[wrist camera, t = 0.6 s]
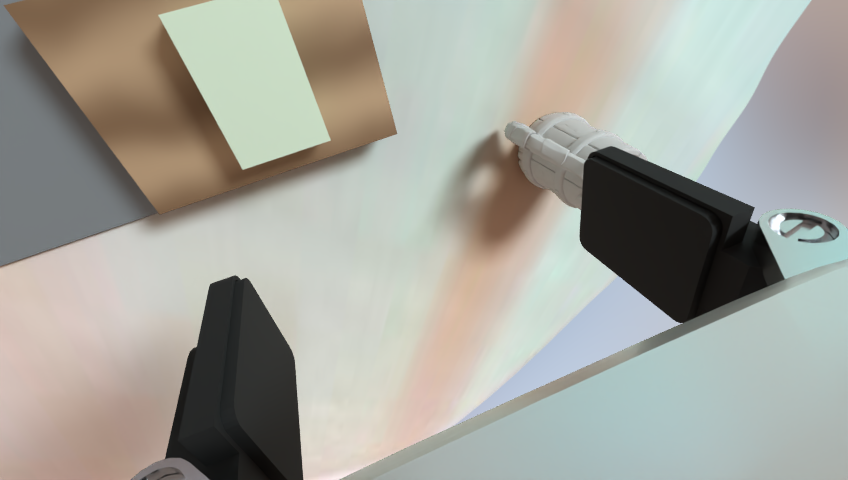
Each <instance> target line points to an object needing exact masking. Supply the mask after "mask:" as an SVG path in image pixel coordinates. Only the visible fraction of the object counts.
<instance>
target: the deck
mask: <svg viewBox="0 0 848 480" xmlns="http://www.w3.org/2000/svg"><path fill="white" fill-rule="evenodd" d="M209 1H213V0H23V1H19V2H15V3H11V4H7V5H3V6H4V7H5V8H6V10H7V11H8V12H9V14H10V15H11V16H12V18H13V19H14V20H15V22H16V23H17V24H18V26H19V27H20V28H21V30H22V31H23V32H24V34H25V35H26V36H27V38H28V39H29V40H30V42H31V43H32V44H33V46H34V47H35V48H36V50H37V51H38V52H39V54H40V55H41V56H42V58H43V59H44V60H45V62H46V63H47V64H48V66H49V67H50V68H51V70H52V71H53V72H54V74H55V75H56V76H57V78H58V79H59V80H60V82H61V83H62V84H63V86H64V87H65V88H66V90H67V91H68V93H69V94H70V95H71V97H72V98H73V99H74V101H75V102H76V103H77V105H78V106H79V107H80V109H81V110H82V111H83V113H84V114H85V115H86V117H87V118H88V119H89V121H90V122H91V123H92V125H93V126H94V127H95V129H96V130H97V131H98V133H99V134H100V135H101V137H102V138H103V139H104V141H105V142H106V143H107V145H108V146H109V147H110V149H111V150H112V151H113V153H114V154H115V155H116V157H117V158H118V159H119V161H120V162H121V163H122V165H123V166H124V167H125V169H126V170H127V171H128V173H129V174H130V175H131V177H132V178H133V179H134V181H135V182H136V183H137V185H138V186H139V187H140V189H141V190H142V192H143V193H144V194H145V196H146V197H147V198H148V200H149V201H150V202H151V204H152V205H153V206H154V208H155V209H156V210H157V212H158V213H159V214H163V213H166V212H169V211H172V210H174V209H177V208H180V207H183V206H186V205H189V204H192V203H195V202H198V201H201V200H204V199H207V198H210V197H213V196H216V195H219V194H222V193H224V192H227V191H230V190H233V189H236V188H239V187H242V186H245V185H248V184H251V183H254V182H257V181H260V180H263V179H266V178H269V177H272V176H274V175H277V174H280V173H283V172H286V171H289V170H292V169H295V168H298V167H301V166H304V165H307V164H310V163H313V162H316V161H319V160H322V159H324V158H327V157H330V156H333V155H336V154H339V153H342V152H345V151H348V150H351V149H354V148H357V147H360V146H363V145H366V144H369V143H372V142H374V141H377V140H380V139H383V138H386V137H389V136H392V135H395V134H397V131H396V128H395V124H394V120H393V116H392V112H391V109H390V105H389V101H388V97H387V93H386V90H385V86H384V82H383V78H382V74H381V71H380V67H379V63H378V59H377V55H376V52H375V48H374V44H373V40H372V36H371V33H370V29H369V25H368V21H367V17H366V14H365V10H364V6H363V2H362V0H278V1H279V3H280V6H281V9H282V11H283V14H284V17H285V19H286V22H287V25H288V27H289V30H290V33H291V35H292V38H293V41H294V43H295V46H296V49H297V51H298V54H299V57H300V59H301V62H302V65H303V68H304V70H305V73H306V76H307V78H308V81H309V84H310V86H311V89H312V92H313V94H314V97H315V100H316V102H317V105H318V108H319V110H320V113H321V116H322V118H323V121H324V124H325V126H326V129H327V132H328V134H329V137H330V140H331V141H328V142H325V143H322V144H319V145H316V146H313V147H310V148H307V149H304V150H301V151H298V152H295V153H292V154H289V155H286V156H283V157H280V158H277V159H274V160H271V161H268V162H265V163H262V164H259V165H256V166H253V167H250V168H247V169H244V170H243V169H242V168H241V166H240V164H239V162H238V160H237V158H236V157H235V155H234V153H233V151H232V149H231V148H230V146H229V144H228V142H227V140H226V138H225V137H224V135H223V133H222V131H221V129H220V127H219V126H218V124H217V122H216V120H215V118H214V116H213V115H212V113H211V111H210V109H209V107H208V105H207V104H206V102H205V100H204V98H203V96H202V94H201V93H200V91H199V89H198V87H197V85H196V83H195V82H194V80H193V78H192V76H191V74H190V72H189V71H188V69H187V67H186V65H185V63H184V61H183V60H182V58H181V56H180V54H179V52H178V50H177V49H176V47H175V45H174V43H173V41H172V39H171V38H170V36H169V34H168V32H167V30H166V29H165V27H164V25H163V23H162V21H161V19H160V18H159V16H158V15H160V14H164V13H167V12H171V11H175V10H179V9H182V8H186V7H190V6H194V5H198V4H201V3H205V2H209Z"/></svg>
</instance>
